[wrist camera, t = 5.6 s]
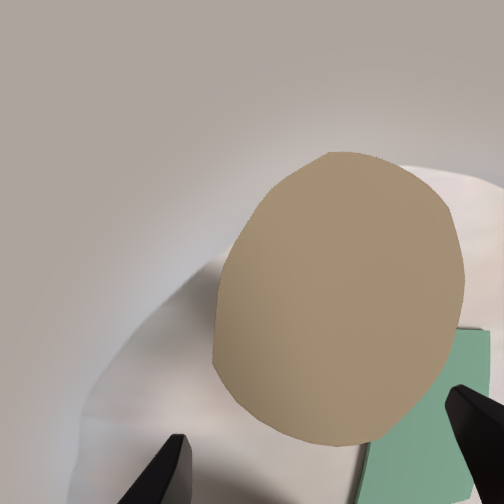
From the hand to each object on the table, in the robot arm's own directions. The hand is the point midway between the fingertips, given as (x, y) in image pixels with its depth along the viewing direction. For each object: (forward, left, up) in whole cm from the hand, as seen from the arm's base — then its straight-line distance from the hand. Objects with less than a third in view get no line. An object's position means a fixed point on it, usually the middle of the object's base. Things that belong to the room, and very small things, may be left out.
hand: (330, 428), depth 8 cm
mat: (-1, -10, -10) cm, 15 cm away
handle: (+3, +1, -11) cm, 11 cm away
